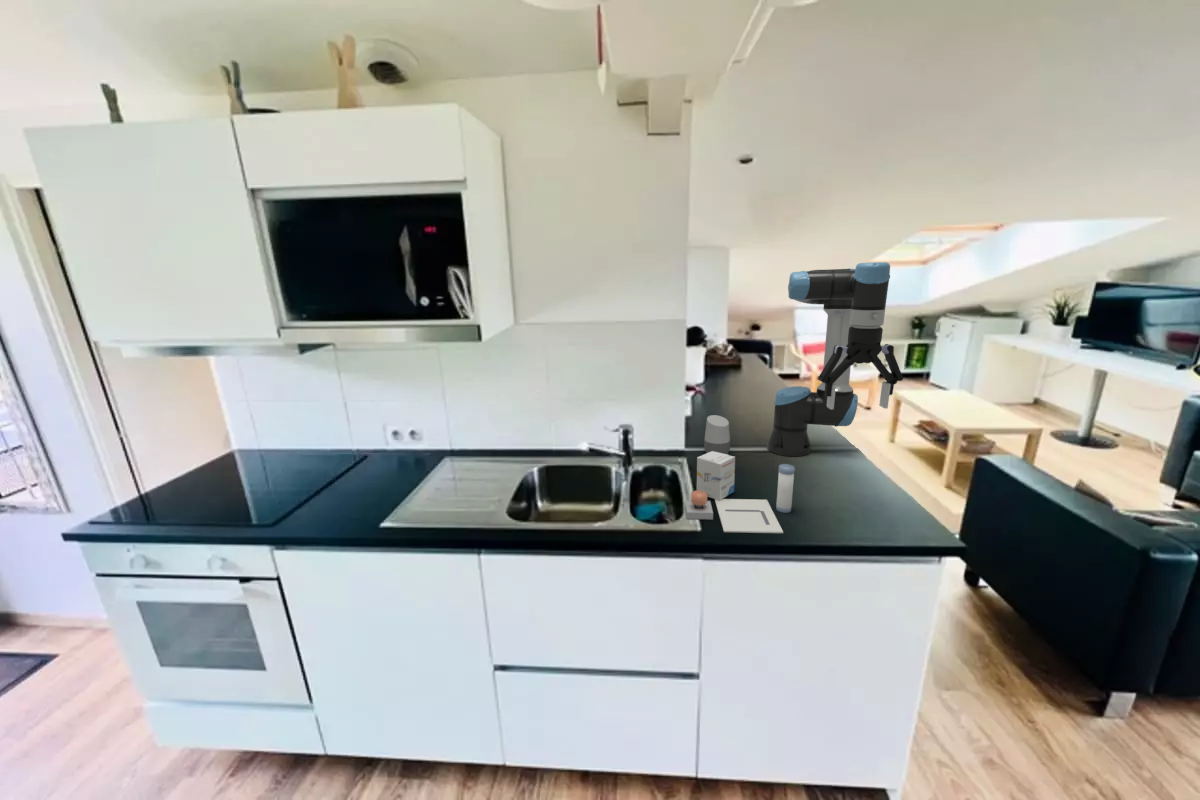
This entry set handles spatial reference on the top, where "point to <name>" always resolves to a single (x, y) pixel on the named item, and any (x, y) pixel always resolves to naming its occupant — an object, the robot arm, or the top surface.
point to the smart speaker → (717, 435)
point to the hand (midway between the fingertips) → (856, 407)
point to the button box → (698, 511)
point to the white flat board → (747, 516)
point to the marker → (785, 488)
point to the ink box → (716, 474)
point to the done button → (699, 498)
